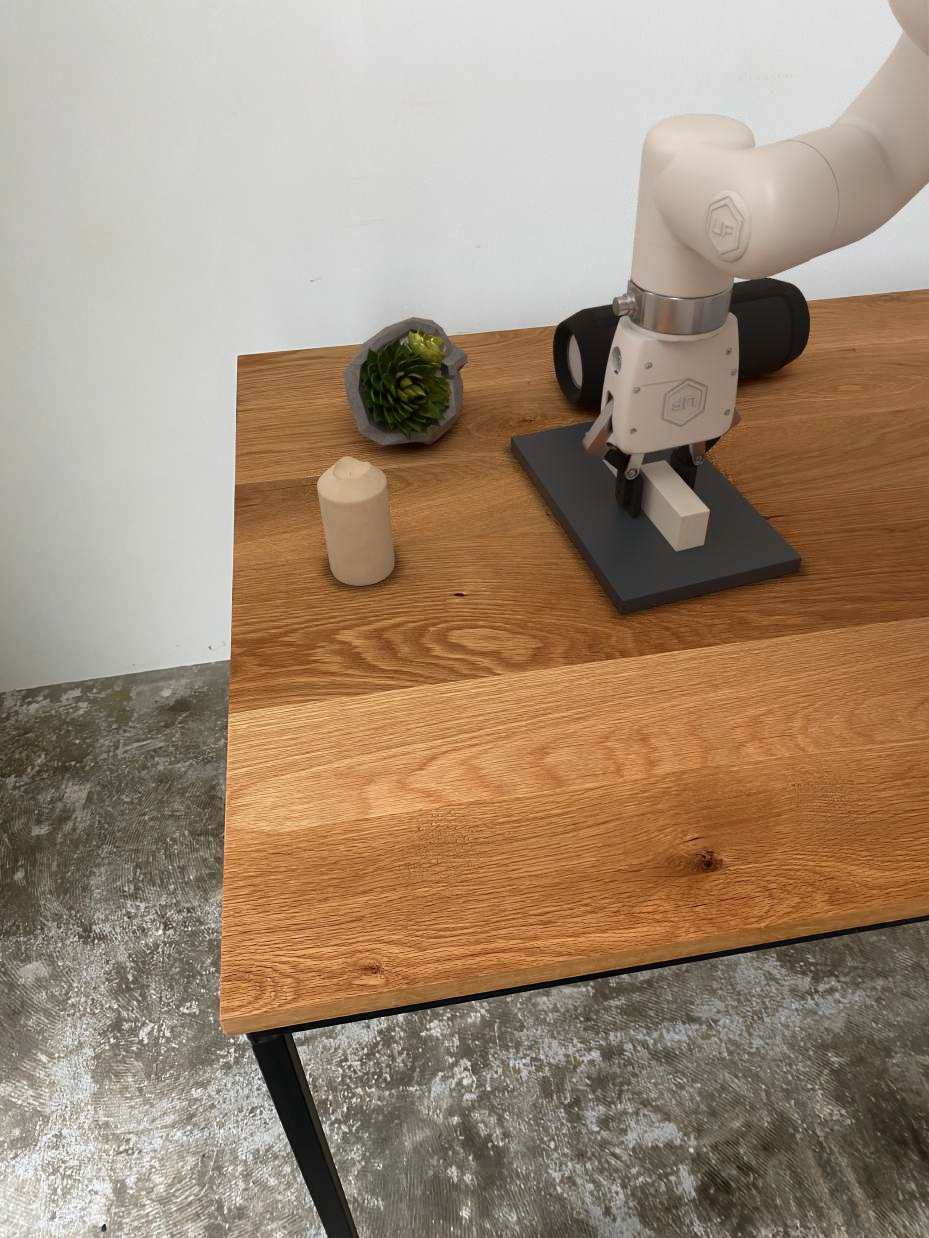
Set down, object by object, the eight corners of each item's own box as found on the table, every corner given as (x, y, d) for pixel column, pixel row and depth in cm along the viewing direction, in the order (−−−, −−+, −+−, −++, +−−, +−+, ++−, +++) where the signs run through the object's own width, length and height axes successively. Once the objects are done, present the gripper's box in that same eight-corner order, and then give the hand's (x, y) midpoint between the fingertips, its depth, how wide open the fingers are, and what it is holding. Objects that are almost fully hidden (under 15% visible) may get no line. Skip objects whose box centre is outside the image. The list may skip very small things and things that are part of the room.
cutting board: (657, 420, 96) (659, 407, 95) (798, 571, 77) (802, 557, 76) (510, 450, 93) (510, 436, 92) (621, 614, 74) (622, 600, 73)
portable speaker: (584, 429, 95) (589, 337, 88) (547, 385, 102) (550, 296, 95) (803, 385, 100) (824, 294, 94) (754, 346, 107) (771, 259, 101)
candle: (324, 554, 81) (308, 455, 74) (386, 540, 82) (375, 442, 75) (338, 592, 77) (321, 492, 70) (402, 578, 78) (392, 478, 72)
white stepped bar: (704, 545, 78) (710, 510, 76) (675, 552, 77) (681, 516, 75) (609, 433, 91) (612, 400, 89) (585, 438, 91) (587, 405, 89)
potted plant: (477, 362, 99) (518, 391, 86) (399, 454, 101) (426, 496, 88) (392, 282, 94) (422, 300, 81) (311, 381, 96) (327, 414, 83)
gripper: (595, 341, 66) (581, 547, 78) (804, 304, 69) (759, 507, 82) (556, 300, 71) (548, 498, 83) (752, 267, 75) (717, 463, 87)
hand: (653, 500), depth 82 cm, fingers open, 4 cm apart
